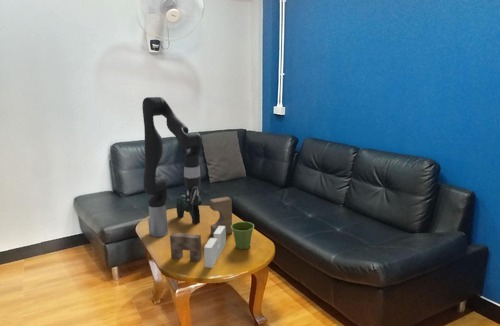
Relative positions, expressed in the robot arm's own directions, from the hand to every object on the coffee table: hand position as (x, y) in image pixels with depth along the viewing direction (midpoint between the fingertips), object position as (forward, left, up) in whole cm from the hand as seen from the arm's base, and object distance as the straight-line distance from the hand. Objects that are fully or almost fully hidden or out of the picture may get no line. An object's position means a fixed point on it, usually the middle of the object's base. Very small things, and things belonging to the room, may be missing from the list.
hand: (193, 207), depth 166 cm
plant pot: (+22, +10, -24) cm, 34 cm away
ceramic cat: (-18, +37, -24) cm, 48 cm away
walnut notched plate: (-2, -7, -24) cm, 25 cm away
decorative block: (+7, +23, -24) cm, 34 cm away
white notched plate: (+11, -1, -24) cm, 26 cm away
